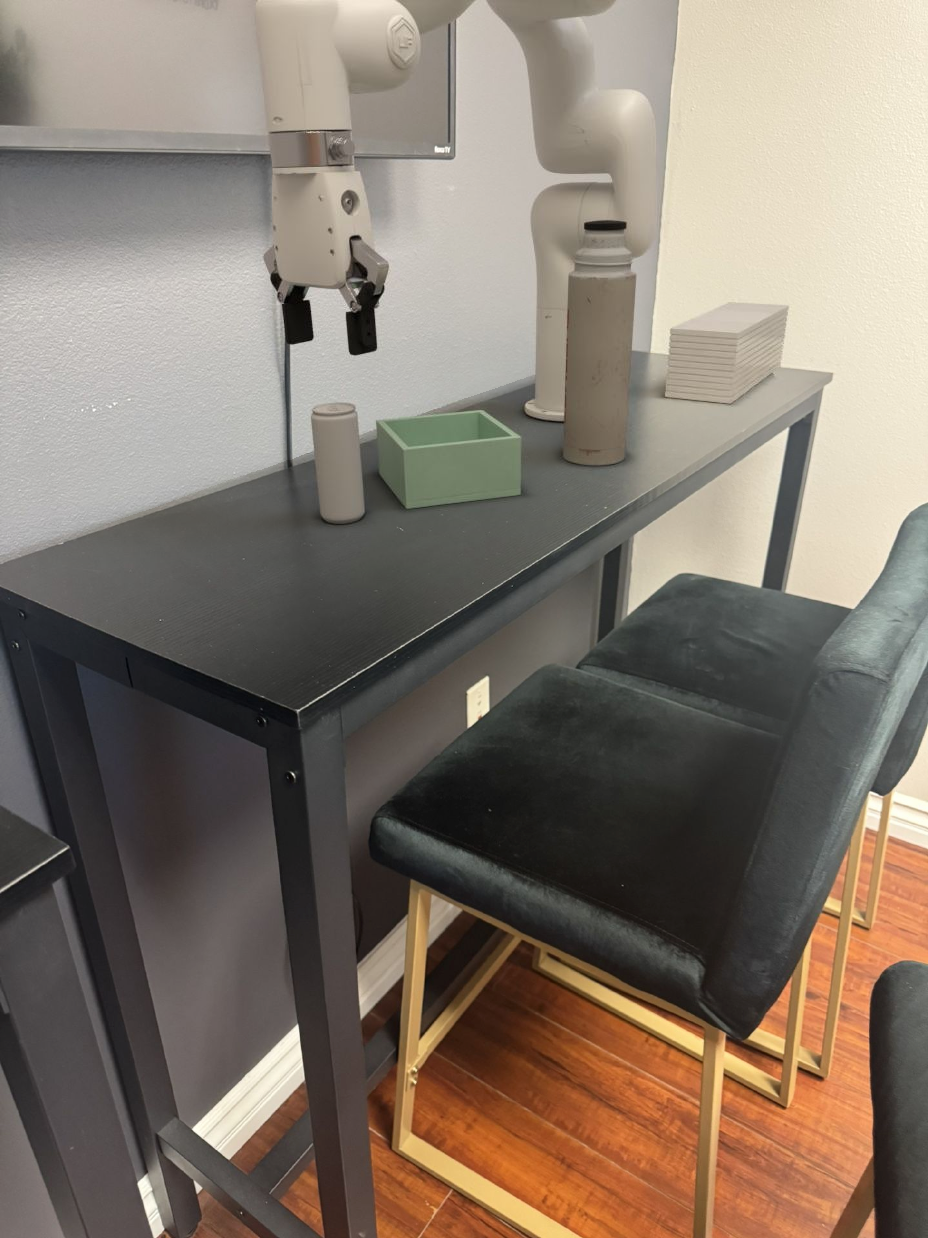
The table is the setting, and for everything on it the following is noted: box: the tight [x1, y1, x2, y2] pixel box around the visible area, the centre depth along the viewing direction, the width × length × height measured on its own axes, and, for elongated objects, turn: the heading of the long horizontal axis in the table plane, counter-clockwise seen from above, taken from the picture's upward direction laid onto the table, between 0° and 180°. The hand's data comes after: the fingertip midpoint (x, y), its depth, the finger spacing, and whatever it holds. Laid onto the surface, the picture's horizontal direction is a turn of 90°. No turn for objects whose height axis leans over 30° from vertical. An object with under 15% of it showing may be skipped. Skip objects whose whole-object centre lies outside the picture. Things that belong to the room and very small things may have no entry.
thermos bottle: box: [562, 220, 637, 467], centre depth 110 cm, size 8×8×28 cm
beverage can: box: [310, 401, 366, 525], centre depth 95 cm, size 5×5×12 cm
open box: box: [375, 409, 522, 510], centre depth 106 cm, size 14×14×7 cm
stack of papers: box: [664, 301, 790, 404], centre depth 152 cm, size 32×11×11 cm, turn 149°
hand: (330, 347), depth 90 cm, fingers open, 9 cm apart
